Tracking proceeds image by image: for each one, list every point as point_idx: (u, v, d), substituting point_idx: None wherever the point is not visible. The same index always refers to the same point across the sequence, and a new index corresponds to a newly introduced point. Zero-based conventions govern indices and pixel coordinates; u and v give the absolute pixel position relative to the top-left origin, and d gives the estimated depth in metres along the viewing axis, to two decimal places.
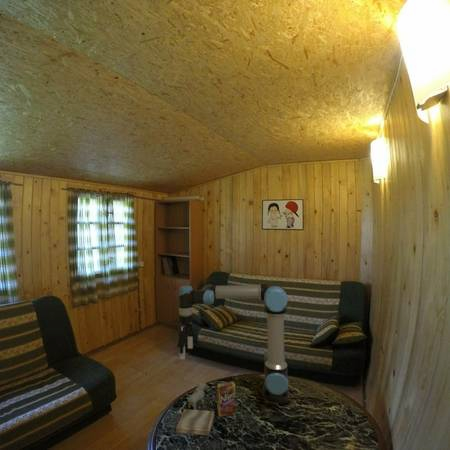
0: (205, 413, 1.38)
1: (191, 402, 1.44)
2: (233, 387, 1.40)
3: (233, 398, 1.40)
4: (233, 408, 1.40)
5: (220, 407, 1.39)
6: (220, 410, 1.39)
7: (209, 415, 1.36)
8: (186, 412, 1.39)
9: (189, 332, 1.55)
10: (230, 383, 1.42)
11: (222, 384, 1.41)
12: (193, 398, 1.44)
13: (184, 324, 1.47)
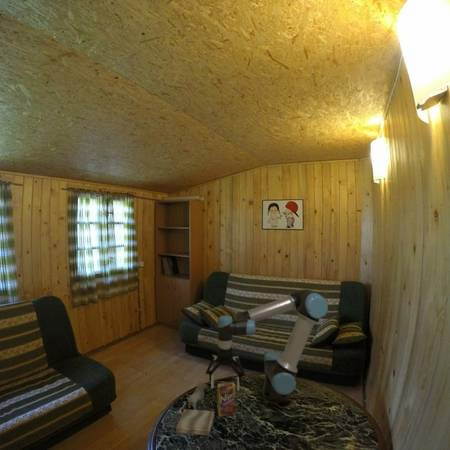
0: (205, 413, 1.38)
1: (191, 402, 1.44)
2: (233, 387, 1.40)
3: (233, 398, 1.40)
4: (233, 408, 1.40)
5: (220, 407, 1.39)
6: (220, 410, 1.39)
7: (209, 415, 1.36)
8: (186, 412, 1.39)
9: None
10: (230, 383, 1.42)
11: (222, 384, 1.41)
12: (193, 398, 1.44)
13: (218, 354, 1.42)
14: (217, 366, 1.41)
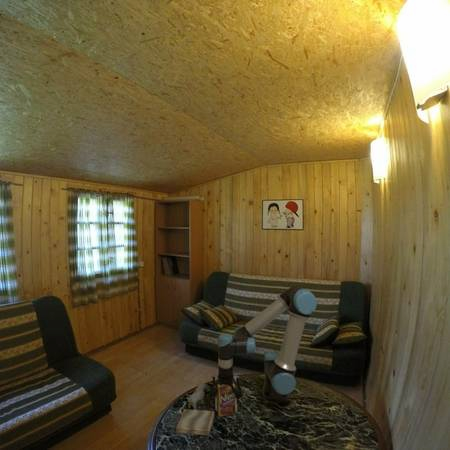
0: (205, 413, 1.38)
1: (191, 402, 1.44)
2: None
3: (233, 398, 1.40)
4: (233, 408, 1.40)
5: (220, 407, 1.39)
6: (220, 410, 1.39)
7: (209, 415, 1.36)
8: (186, 412, 1.39)
9: None
10: None
11: (222, 384, 1.41)
12: (193, 398, 1.44)
13: None
14: None
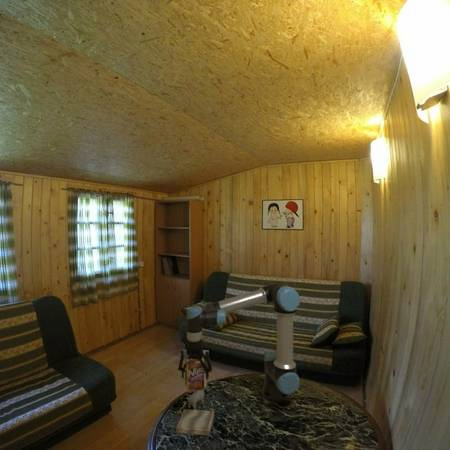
0: (205, 413, 1.38)
1: (191, 402, 1.44)
2: None
3: (202, 373, 1.34)
4: (202, 383, 1.33)
5: (188, 382, 1.32)
6: (188, 385, 1.32)
7: (209, 415, 1.36)
8: (186, 412, 1.39)
9: None
10: None
11: None
12: (193, 398, 1.44)
13: None
14: None
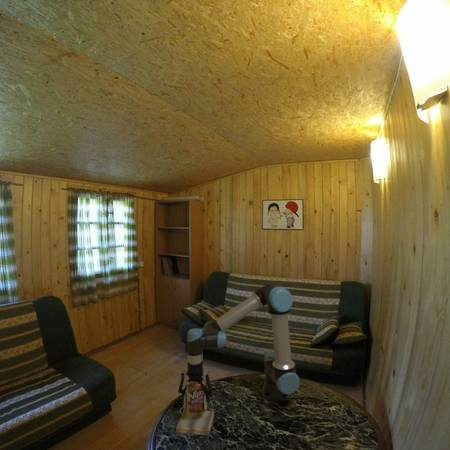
0: (205, 413, 1.38)
1: None
2: None
3: (202, 396, 1.33)
4: (202, 406, 1.33)
5: (188, 405, 1.32)
6: (188, 408, 1.32)
7: (209, 415, 1.36)
8: (186, 412, 1.39)
9: None
10: None
11: (191, 381, 1.34)
12: None
13: None
14: None
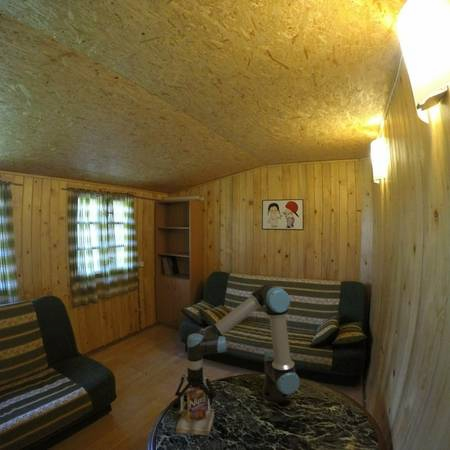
0: None
1: None
2: (203, 391, 1.33)
3: (203, 403, 1.33)
4: (203, 413, 1.33)
5: (189, 412, 1.31)
6: (189, 415, 1.31)
7: (209, 415, 1.36)
8: (186, 412, 1.39)
9: None
10: None
11: (192, 388, 1.34)
12: None
13: None
14: (187, 387, 1.34)
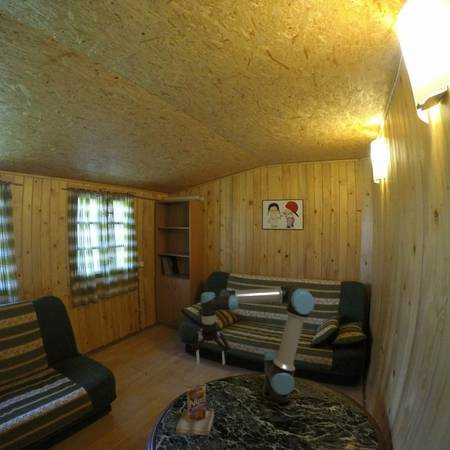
0: None
1: None
2: (203, 391, 1.33)
3: (203, 403, 1.33)
4: (203, 413, 1.33)
5: (189, 412, 1.31)
6: (189, 415, 1.31)
7: (209, 415, 1.36)
8: (186, 412, 1.39)
9: None
10: (200, 387, 1.35)
11: (192, 388, 1.34)
12: None
13: (202, 331, 1.43)
14: (202, 342, 1.42)
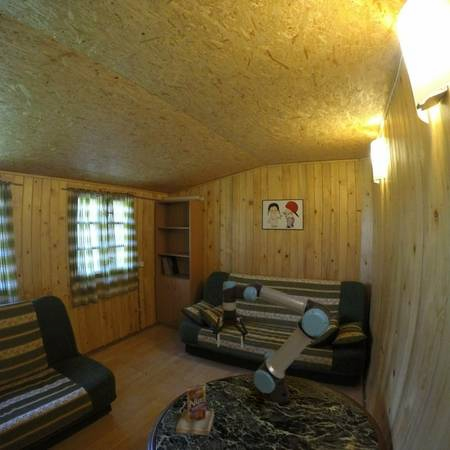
0: None
1: None
2: (203, 391, 1.33)
3: (203, 403, 1.33)
4: (203, 413, 1.33)
5: (189, 412, 1.31)
6: (189, 415, 1.31)
7: (209, 415, 1.36)
8: (186, 412, 1.39)
9: None
10: (200, 387, 1.35)
11: (192, 388, 1.34)
12: None
13: (223, 316, 1.56)
14: (222, 326, 1.55)
